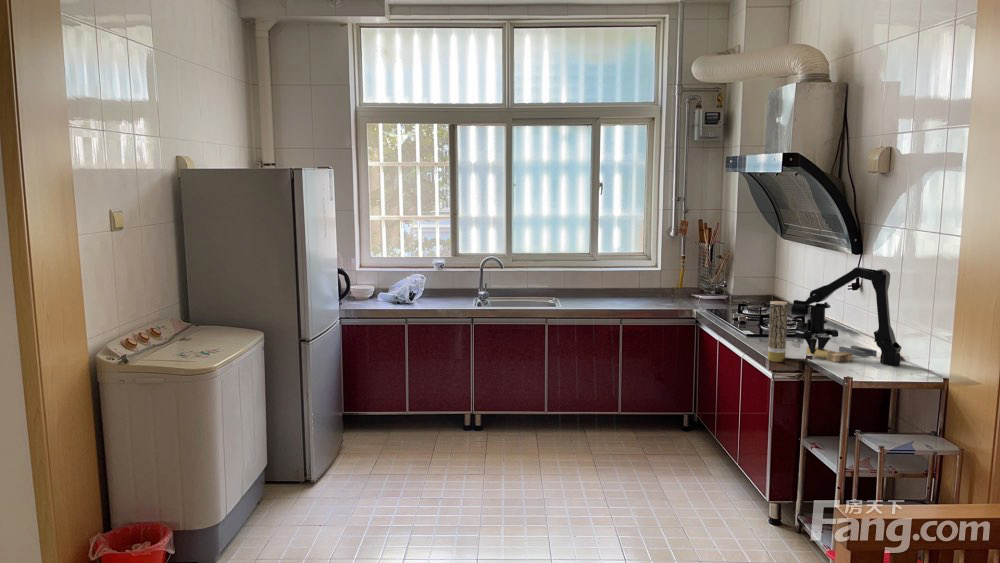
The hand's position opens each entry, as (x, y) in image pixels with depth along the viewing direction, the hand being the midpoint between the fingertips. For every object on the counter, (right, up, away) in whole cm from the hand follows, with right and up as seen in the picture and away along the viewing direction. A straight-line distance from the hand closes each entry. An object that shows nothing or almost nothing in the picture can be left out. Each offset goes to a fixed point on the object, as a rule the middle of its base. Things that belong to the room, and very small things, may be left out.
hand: (815, 353), depth 299 cm
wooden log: (-19, -3, -5) cm, 20 cm away
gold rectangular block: (+1, 0, -3) cm, 3 cm away
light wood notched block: (+4, -3, -12) cm, 13 cm away
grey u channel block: (+19, -2, +3) cm, 20 cm away
